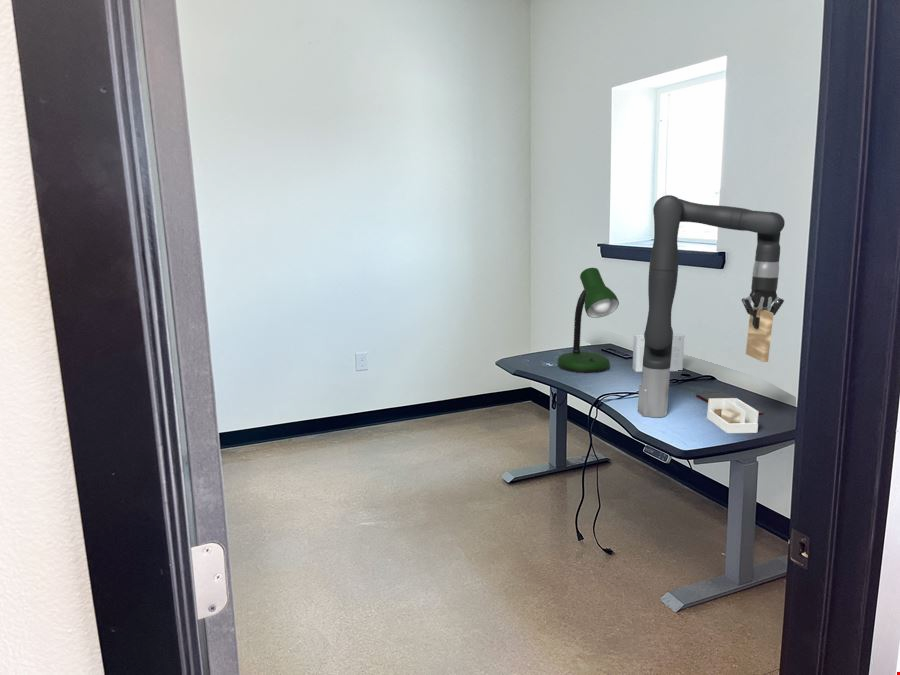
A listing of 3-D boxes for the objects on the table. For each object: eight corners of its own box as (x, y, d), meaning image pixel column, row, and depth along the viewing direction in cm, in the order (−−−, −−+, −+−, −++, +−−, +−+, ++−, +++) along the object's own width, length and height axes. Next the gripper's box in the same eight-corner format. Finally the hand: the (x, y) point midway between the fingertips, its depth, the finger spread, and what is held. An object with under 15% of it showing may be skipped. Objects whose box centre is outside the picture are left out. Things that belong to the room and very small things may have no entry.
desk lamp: (628, 375, 279) (634, 270, 270) (580, 379, 273) (585, 272, 264) (593, 358, 308) (598, 263, 299) (549, 362, 302) (553, 264, 293)
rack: (727, 433, 211) (729, 412, 210) (706, 417, 226) (708, 398, 225) (757, 432, 212) (759, 412, 210) (735, 417, 227) (736, 398, 225)
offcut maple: (729, 422, 213) (730, 413, 212) (721, 417, 218) (721, 409, 217) (739, 422, 214) (740, 413, 213) (730, 417, 218) (731, 408, 218)
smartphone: (735, 415, 227) (694, 393, 251) (734, 419, 227) (694, 397, 251) (766, 412, 229) (723, 391, 253) (765, 417, 230) (722, 395, 254)
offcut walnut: (719, 423, 220) (720, 412, 220) (713, 420, 224) (714, 409, 223) (728, 423, 221) (729, 412, 220) (722, 419, 224) (723, 408, 223)
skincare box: (678, 368, 291) (680, 333, 288) (682, 371, 286) (685, 336, 283) (631, 368, 291) (633, 333, 287) (635, 372, 285) (637, 336, 282)
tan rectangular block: (762, 362, 210) (767, 313, 207) (745, 353, 221) (750, 307, 217) (768, 362, 210) (773, 313, 207) (750, 353, 221) (755, 307, 218)
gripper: (750, 276, 206) (745, 330, 209) (792, 276, 207) (786, 330, 210) (738, 274, 213) (733, 326, 217) (779, 273, 214) (774, 325, 218)
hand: (759, 327), depth 213 cm, fingers closed on tan rectangular block, 2 cm apart
